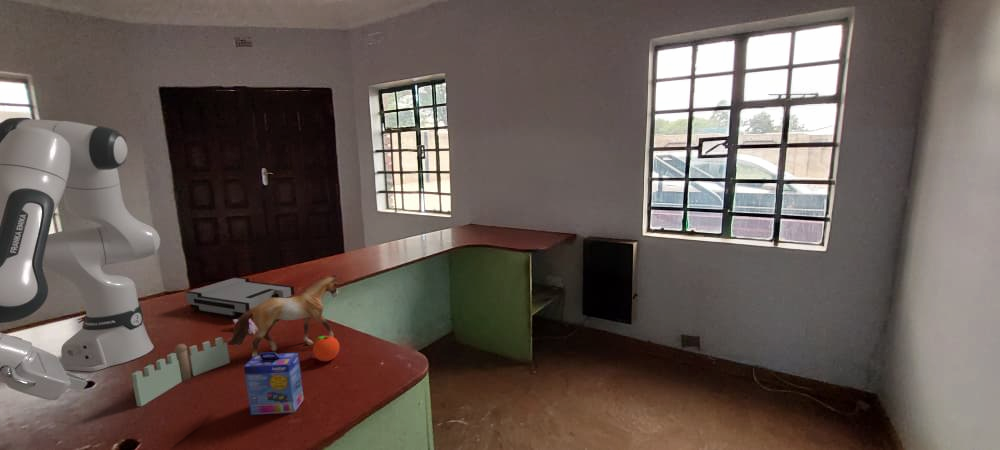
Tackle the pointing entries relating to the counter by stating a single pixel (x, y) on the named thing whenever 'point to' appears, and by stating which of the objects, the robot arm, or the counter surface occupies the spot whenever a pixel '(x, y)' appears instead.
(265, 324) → the horse figurine
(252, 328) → the rabbit figure
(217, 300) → the game console
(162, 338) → the counter surface
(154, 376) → the folding fence panel
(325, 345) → the clementine
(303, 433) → the counter surface
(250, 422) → the counter surface
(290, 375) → the ink cartridge box
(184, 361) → the fence post and fixed panel
